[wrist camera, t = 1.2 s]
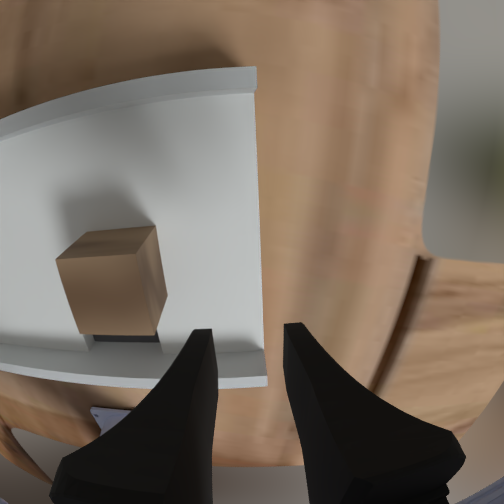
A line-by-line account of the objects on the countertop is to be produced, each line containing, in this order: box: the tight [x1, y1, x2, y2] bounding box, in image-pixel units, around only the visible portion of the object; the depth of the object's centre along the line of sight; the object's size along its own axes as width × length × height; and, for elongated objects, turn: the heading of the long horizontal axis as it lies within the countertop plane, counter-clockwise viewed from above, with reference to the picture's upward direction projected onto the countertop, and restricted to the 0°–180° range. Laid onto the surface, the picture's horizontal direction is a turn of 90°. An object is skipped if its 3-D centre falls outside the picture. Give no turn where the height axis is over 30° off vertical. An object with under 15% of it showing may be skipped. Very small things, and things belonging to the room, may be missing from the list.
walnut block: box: [55, 226, 168, 335], centre depth 16 cm, size 4×4×4 cm
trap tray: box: [0, 66, 267, 389], centre depth 17 cm, size 18×33×4 cm, turn 93°
